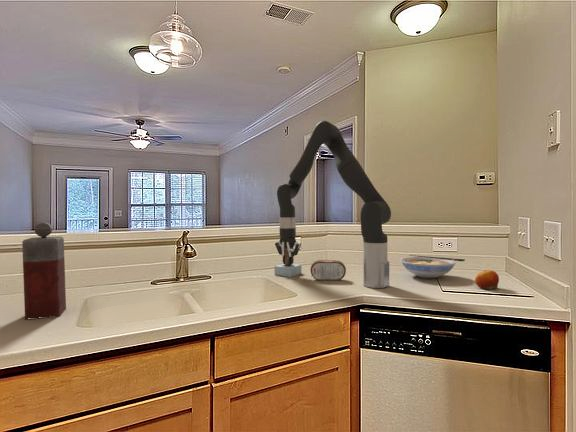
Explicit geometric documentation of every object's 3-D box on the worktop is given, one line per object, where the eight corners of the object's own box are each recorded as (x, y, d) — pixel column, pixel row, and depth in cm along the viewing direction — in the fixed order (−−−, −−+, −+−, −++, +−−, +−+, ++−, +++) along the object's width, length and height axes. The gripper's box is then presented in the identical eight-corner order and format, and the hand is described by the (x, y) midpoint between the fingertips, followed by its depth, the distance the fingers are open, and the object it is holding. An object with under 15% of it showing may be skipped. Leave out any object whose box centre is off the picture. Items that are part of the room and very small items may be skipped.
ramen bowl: (387, 276, 163) (387, 258, 162) (414, 269, 178) (414, 253, 178) (443, 285, 144) (443, 264, 144) (468, 277, 159) (468, 258, 159)
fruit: (497, 288, 132) (486, 268, 135) (478, 296, 138) (468, 276, 141) (508, 285, 136) (497, 265, 140) (490, 293, 142) (479, 273, 145)
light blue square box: (301, 273, 172) (301, 264, 172) (290, 276, 165) (290, 267, 165) (285, 271, 177) (285, 263, 177) (274, 274, 170) (274, 266, 170)
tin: (345, 279, 158) (345, 260, 158) (346, 281, 155) (346, 261, 154) (310, 279, 159) (310, 259, 159) (310, 280, 156) (310, 261, 156)
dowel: (292, 269, 171) (291, 248, 171) (288, 270, 169) (288, 248, 169) (287, 269, 173) (287, 247, 172) (284, 269, 171) (283, 248, 170)
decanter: (67, 306, 121) (64, 221, 120) (60, 316, 110) (57, 222, 109) (35, 309, 117) (32, 221, 116) (24, 320, 107) (21, 223, 106)
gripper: (304, 227, 169) (305, 264, 170) (280, 226, 177) (280, 262, 178) (295, 228, 163) (296, 266, 164) (270, 227, 171) (271, 264, 172)
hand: (288, 264), depth 171 cm, fingers closed on dowel, 2 cm apart
